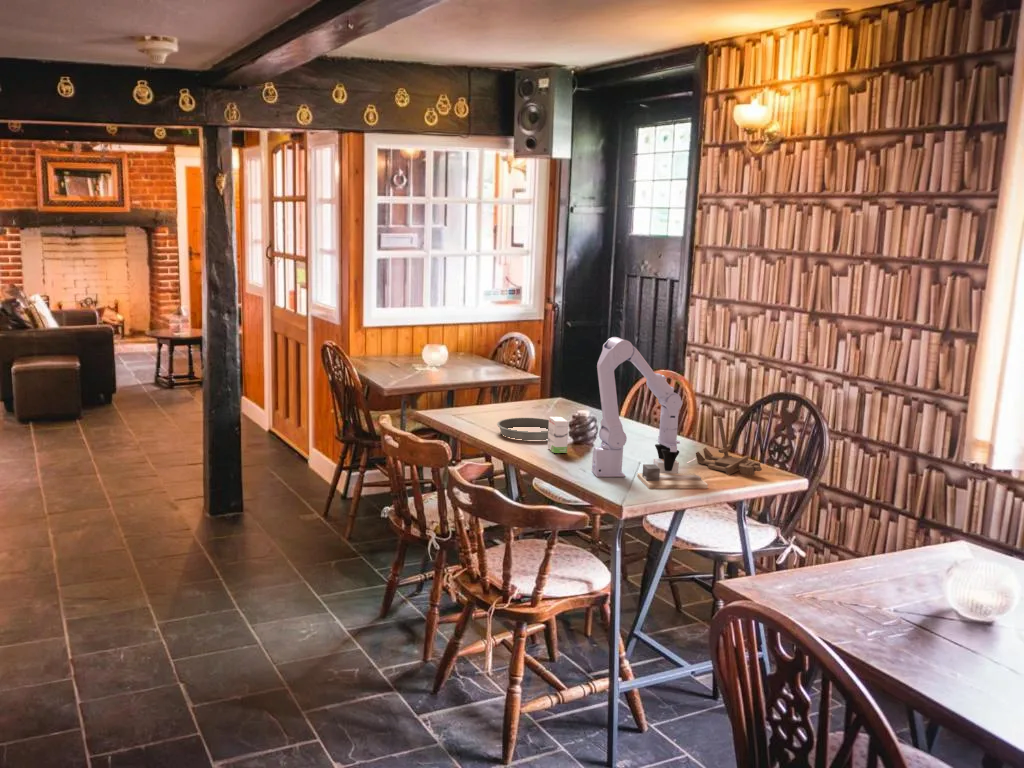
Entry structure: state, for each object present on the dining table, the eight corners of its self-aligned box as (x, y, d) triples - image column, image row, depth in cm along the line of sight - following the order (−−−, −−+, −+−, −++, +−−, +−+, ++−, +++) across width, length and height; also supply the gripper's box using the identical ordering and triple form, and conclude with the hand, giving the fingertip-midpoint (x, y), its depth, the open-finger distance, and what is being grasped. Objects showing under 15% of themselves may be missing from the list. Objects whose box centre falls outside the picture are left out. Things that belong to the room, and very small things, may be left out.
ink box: (567, 454, 331) (569, 421, 329) (553, 454, 330) (555, 421, 328) (559, 448, 339) (561, 416, 337) (546, 448, 338) (548, 416, 336)
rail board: (648, 488, 292) (649, 471, 291) (637, 476, 305) (638, 461, 304) (707, 488, 295) (709, 472, 294) (694, 477, 307) (695, 461, 306)
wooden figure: (707, 412, 328) (766, 419, 308) (715, 459, 332) (774, 469, 312) (679, 426, 320) (737, 435, 300) (688, 475, 324) (746, 486, 304)
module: (657, 474, 309) (658, 461, 308) (652, 470, 314) (653, 458, 313) (678, 474, 310) (678, 462, 309) (673, 470, 314) (674, 458, 314)
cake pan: (483, 432, 360) (484, 421, 359) (534, 426, 375) (534, 415, 374) (523, 446, 341) (524, 434, 340) (575, 439, 356) (575, 427, 355)
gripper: (687, 432, 303) (684, 474, 305) (673, 423, 317) (670, 462, 319) (665, 432, 302) (663, 474, 304) (653, 422, 316) (650, 462, 318)
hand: (665, 468), depth 311 cm, fingers closed on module, 5 cm apart
